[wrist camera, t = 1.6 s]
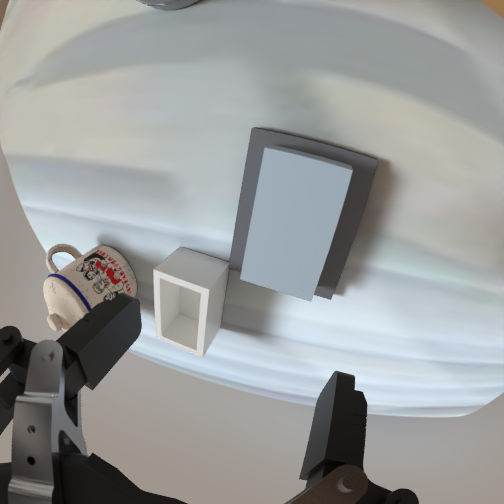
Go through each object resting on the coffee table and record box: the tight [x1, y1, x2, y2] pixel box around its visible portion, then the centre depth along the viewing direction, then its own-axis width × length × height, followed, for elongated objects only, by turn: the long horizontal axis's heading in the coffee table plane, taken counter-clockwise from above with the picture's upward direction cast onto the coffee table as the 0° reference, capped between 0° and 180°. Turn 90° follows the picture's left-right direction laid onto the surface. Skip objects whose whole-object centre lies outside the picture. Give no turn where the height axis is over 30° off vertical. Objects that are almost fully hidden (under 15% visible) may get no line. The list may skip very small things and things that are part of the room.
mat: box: [229, 127, 378, 300], centre depth 24 cm, size 13×10×1 cm
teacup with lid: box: [43, 244, 137, 332], centre depth 29 cm, size 12×9×12 cm
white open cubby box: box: [153, 247, 229, 357], centre depth 29 cm, size 9×6×5 cm, turn 169°
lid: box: [240, 145, 353, 301], centre depth 22 cm, size 11×6×3 cm, turn 169°
